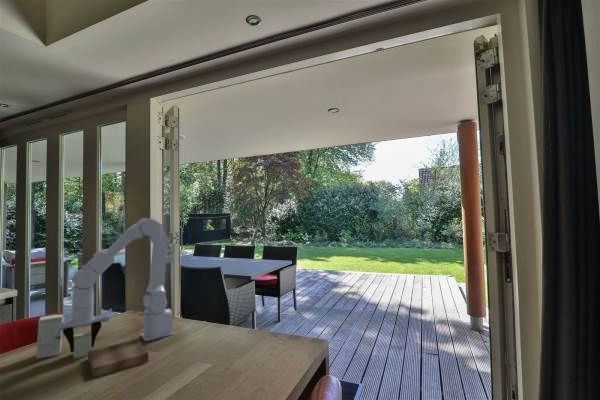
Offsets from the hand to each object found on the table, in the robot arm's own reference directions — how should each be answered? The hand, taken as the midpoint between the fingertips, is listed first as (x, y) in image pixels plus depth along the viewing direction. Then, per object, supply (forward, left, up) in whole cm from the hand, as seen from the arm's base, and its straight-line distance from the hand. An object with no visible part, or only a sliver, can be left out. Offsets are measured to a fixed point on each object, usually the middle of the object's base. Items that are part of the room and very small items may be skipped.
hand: (82, 348), depth 97 cm
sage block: (0, 0, -2) cm, 2 cm away
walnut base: (-8, +13, -2) cm, 15 cm away
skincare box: (+8, -7, -2) cm, 11 cm away
